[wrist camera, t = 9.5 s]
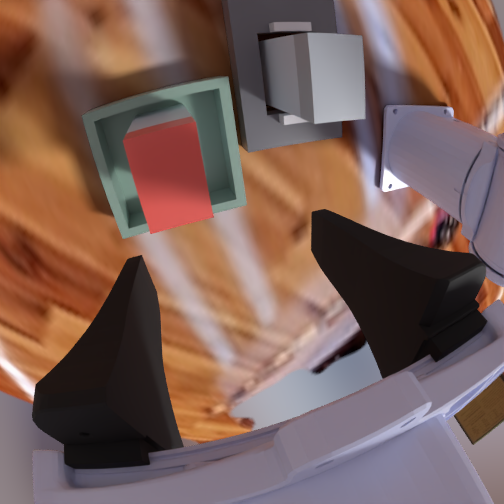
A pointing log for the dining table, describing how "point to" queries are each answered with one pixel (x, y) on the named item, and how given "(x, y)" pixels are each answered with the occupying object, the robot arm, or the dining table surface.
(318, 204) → the dining table surface
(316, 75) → the block
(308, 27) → the fuse holder
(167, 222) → the block
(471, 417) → the food packaging
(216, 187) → the tray
